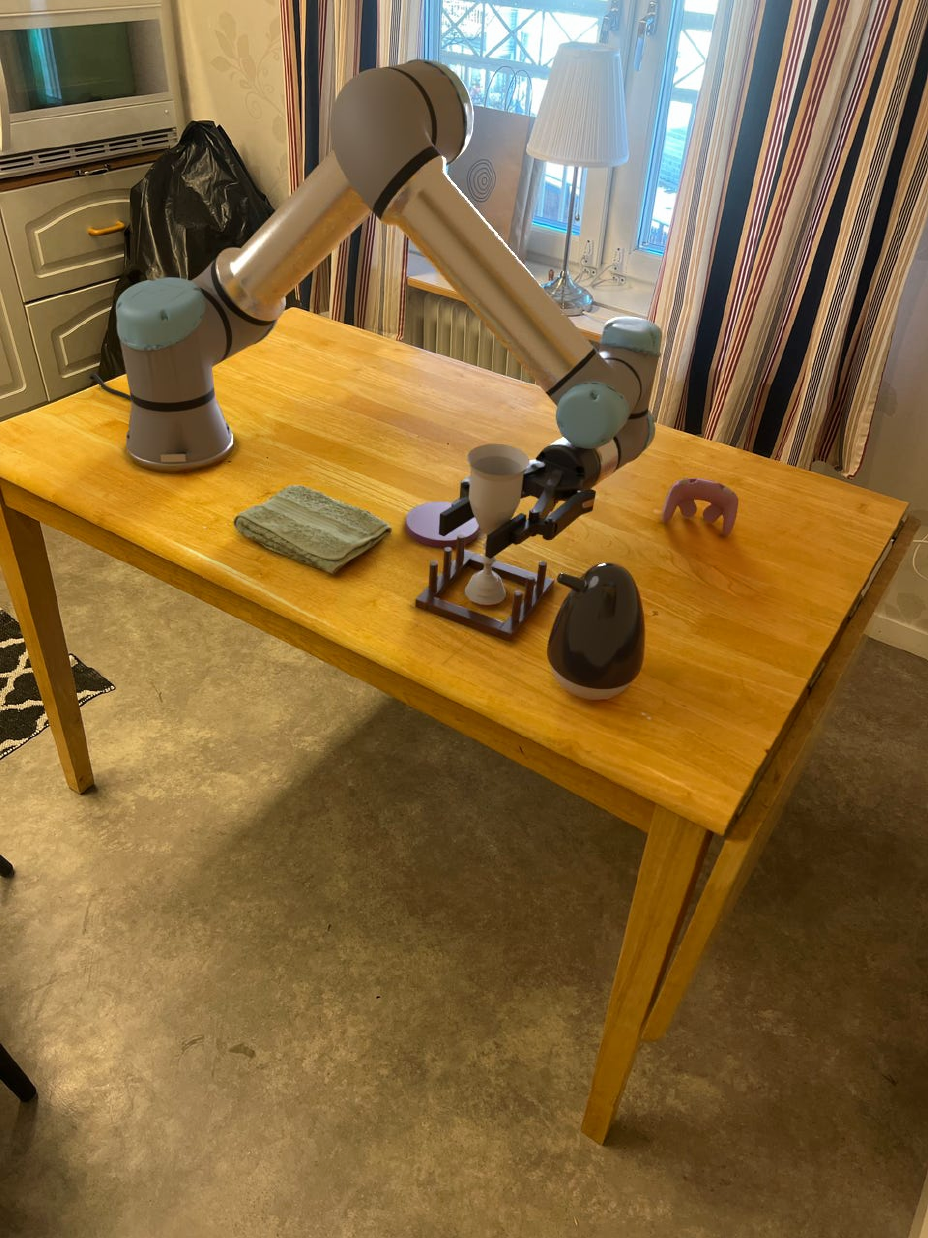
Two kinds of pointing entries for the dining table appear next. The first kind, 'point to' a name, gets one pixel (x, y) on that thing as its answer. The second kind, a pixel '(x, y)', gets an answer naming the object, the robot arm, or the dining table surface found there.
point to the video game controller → (704, 490)
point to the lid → (436, 526)
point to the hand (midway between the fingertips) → (465, 535)
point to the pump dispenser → (598, 633)
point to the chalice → (493, 507)
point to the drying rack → (507, 631)
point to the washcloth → (311, 527)
